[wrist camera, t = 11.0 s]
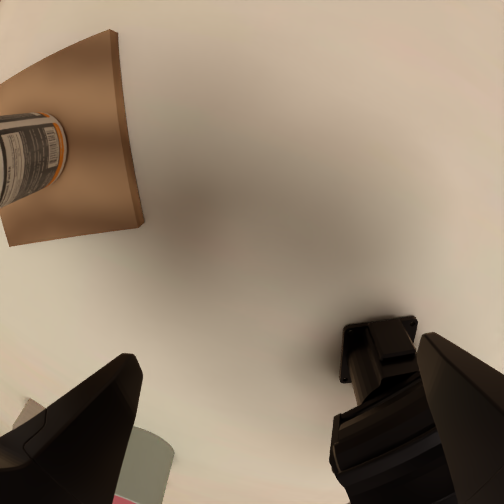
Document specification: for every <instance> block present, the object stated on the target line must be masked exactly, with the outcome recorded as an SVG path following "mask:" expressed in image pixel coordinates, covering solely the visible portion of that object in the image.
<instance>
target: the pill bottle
mask: <svg viewBox="0 0 504 504" xmlns="http://www.w3.org/2000/svg"><path fill="white" fill-rule="evenodd" d="M66 153H67V144H66V137H65V134H64V131H63V128H62V126H61V125H60V123H59V122H58V121H57V119H55V118H54V117H53V116H51V115H50V114H48V113H42V112H33V113H23V114H13V115H3V116H0V208H2V207H4V206H6V205H8V204H10V203H13V202H15V201H17V200H19V199H22V198H24V197H26V196H28V195H30V194H32V193H35V192H37V191H39V190H41V189H43V188H45V187H47V186H49V185H51V184H52V183H53V182H54V181H55V180H56V179H57V178H58V177H59V175H60V173H61V172H62V170H63V167H64V163H65V160H66Z"/></svg>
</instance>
